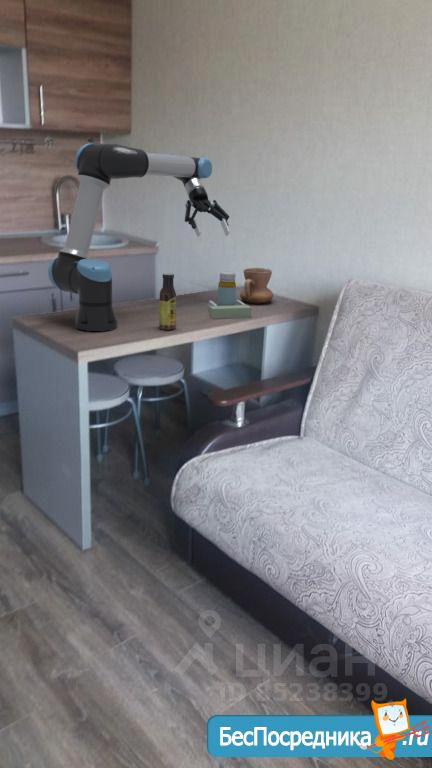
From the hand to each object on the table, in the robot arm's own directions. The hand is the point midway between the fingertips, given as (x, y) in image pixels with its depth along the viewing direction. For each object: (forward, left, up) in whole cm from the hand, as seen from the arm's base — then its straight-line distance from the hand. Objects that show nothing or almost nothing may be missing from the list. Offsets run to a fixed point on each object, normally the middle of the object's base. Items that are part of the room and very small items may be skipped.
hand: (213, 234), depth 245 cm
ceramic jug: (+21, +4, -30) cm, 37 cm away
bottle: (+3, -12, -29) cm, 31 cm away
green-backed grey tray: (+2, -14, -30) cm, 33 cm away
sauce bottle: (-26, -32, -30) cm, 51 cm away
